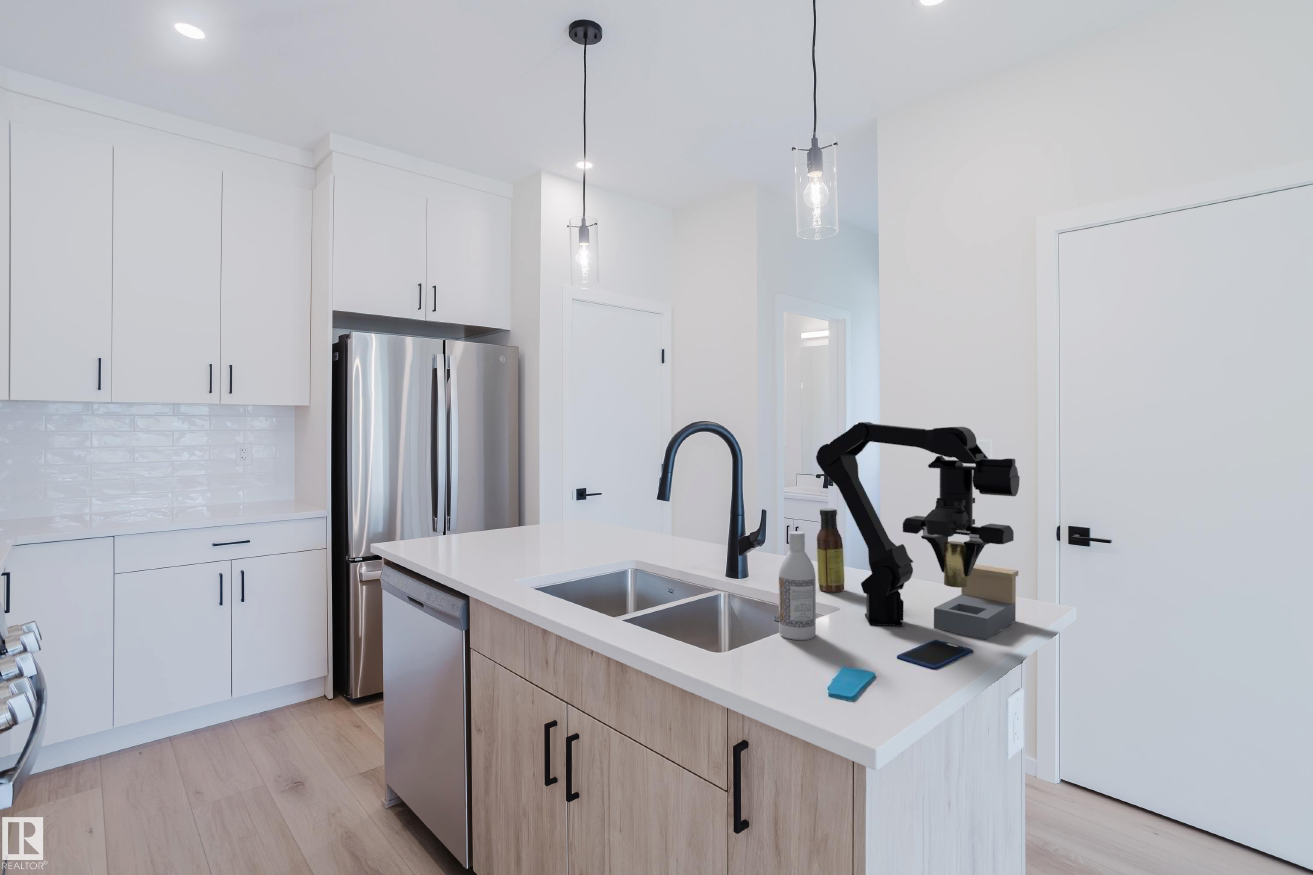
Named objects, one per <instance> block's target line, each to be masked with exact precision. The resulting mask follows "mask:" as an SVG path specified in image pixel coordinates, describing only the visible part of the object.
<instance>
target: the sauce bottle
mask: <svg viewBox="0 0 1313 875" xmlns="http://www.w3.org/2000/svg"><path fill="white" fill-rule="evenodd" d="M819 515H820V528H819V531H818V533H817V535H816V558H817V559H816V560H817V561H816V562H817V583H818V589H819V590H820V591H822V592H826V593H832V594H833V593H840V592H843V591H844V590H845V566H844V565H845V564H844V560H845V559H844V546H843V545H844V544H843V538H842V536H841V534H840V532H839V530H838V524H837V522H838V521H837V516H838V510H837V509H836V508H829V507H828V508H820V509H819Z"/></svg>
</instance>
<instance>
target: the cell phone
mask: <svg viewBox="0 0 1313 875" xmlns="http://www.w3.org/2000/svg"><path fill="white" fill-rule="evenodd" d="M973 653H974V650H973V648H970V647H966V646H963V645H958V644H955V643H952V642H948V641H945V640H944V641H943V640H939V639H933V640H930V641H928V642H926V643H923V644H921V645H918V646H916V647H914V648H913V647H912V648H911V649H909V650H906V651H904V652H902V653H899V654H897V655H896V659H897V660H900V661H902V662H906V663H908V664H913V665H915V666H919V667H923V668H925V669H928V670H933V671H934V670H935V671H936V670H939V669H941V668H944V667H946V666H947V665H950V664H952V663H955V662H956V661H959V660H960V659H962V658H964V657H967V656H968V655H970V654H973Z"/></svg>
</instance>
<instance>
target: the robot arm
mask: <svg viewBox="0 0 1313 875" xmlns="http://www.w3.org/2000/svg"><path fill="white" fill-rule="evenodd" d="M870 443H878V444H879V443H880V444H888V445H896V446H902V447H903V446H904V447H912V448H919V449H922V450H924V451H928V452H930V453H932V454H936V455H937V456H935V458H934V460H932V462H930V463H928V464H927V467H928V469H939V497H936V501H935V507H934V509H932V510H930V512H928V514H926V516H922V515H913V516H908V517H905V519H904V520H903V521H902V533H905V534H907V533H908V534H914V535H915V534H916V535H917V534H919V533H920V532H922V535H920V537H921V539H922V540H925V541H927V543H929V544H930V546H931V547H932V550H933V552H934V554H935V557H936V560H937V562H938V565H939V567H940V570H941V573H943V574H944V542H947V541H949V538H951V537H953V536H954V535H961V536H967V537H968V538H969V539H968V540H965V541H963V542H964V545H965V548H966V557H965V576H966V577H968V576H970V573H971V571H972V569H973V567H974V565H975V564H976V563H977V560H978V558H979V556H980V554H981V552H982V551H983V549H984V548H985V546H986V545H990V544H993V545H1005V544H1008V543H1011V542H1014V539H1015V538H1014V537H1015V536H1014V530H1013V528H1012V526H1011V525H1007V524H997V523H988V524H984V525H981V526H975V525H976V519H975V518H973V508H974V507H973V505H974V504H976V497H973V494H974V492H973V490H978V492H979V494H980V495H985V496H986V495H987V496H988V495H989V496H1002V497H1016V496H1017V495H1018V492H1019V489H1020V478H1021V477H1020V475H1019V471H1018V468H1017V466H1016V459H1015V458H1001V459H999V458H989V457H988V456H987V455H986V454H985V453H984V451H983V449H981V447H980V446H979V444H978V443H977V438H976V434H975V433H974V432H973V431H972V429H970V428H969V427H965V426H949V427H948V426H946V427H945V426H944V427H933V428H921V427H918V428H917V427H908V426H898V425H889V424H880V423H879V424H877V423H873V422H871V421H864V422H863V421H861V422H856V423H855V424H853V425H852V427H850V428H849V429H848V430H847V431H845V432H844V433H842V434H840V435H839V436H837V437H836V438H834V439H833V440H832V441H831V442H829V443H825V444H823V445H821V446H820V447H819V449H817V453H816V455H815V461H816V463H817V465H818V466H819V468H820V469H821V471H822V472H823V474H824V475H825V476H826V477H827V478H828V479H829V481H831V482H832V483H833V484H835V486H836V487H837V489H838V490H839V493H840V494H841V496H842V498H843V500H844V502H845V504H846V506H847V509H848V510H849V512H850V515H851V517H852V518H853V520H854V522H855V525H856V527H857V529H858V531H859V533H860V535H861V537H862V539H863V541H864V542H865V545H866V548H867V551H868V552H867V553H868V557H867V558H868V565H869V569H870V571H871V574H870V575H869V576H867V577H866V579H864V580H863V581H862V582H861V583H860V586H861V589H862V592H863V594H865V595H866V598H865V600H866V602H865V603H866V604H865V605H866V606H865V607H866V609H865V610H866V612H865V613H864V617H865V619H866V621H867V623H868V624H869V625H871V626H874V625H875V626H895V627H896V626H898V627H901V626H902V627H903V624H904V623H903V621H904V600H903V599H902V598H901V595H902V594H901V592H900V591H901V590H903V589H904V586H905V583H907V582H908V581H910V580H911V579H912V576H913V573H914V568H913V563H914V560H913V559H912V558H911V557H910V556H909V554H908V551H907V548H906V546H905V544H904V543H902V544H899V545H897V544H895V543H894V542H893V541H892V540H891V539H890V538H889V536H888V533H887V532H886V529H885V528H884V526H883V523H882V521H881V519H880V518H879V516H878V514H877V511H876V510H875V508H874V506H873V504H872V502H871V500H870V498H869V495H868V493H867V492H866V490H865V488H864V486H863V484H862V482H861V480H860V477H859V464H858V460H857V456H858V455H859V454H860V453H861V452H863V450H864V449H865V448H866V447H867V445H868V444H870ZM945 457H946V458H949V459H946V458H945ZM950 458H951V459H950ZM952 458H955V459H952ZM964 464H967V465H964ZM968 464H969V465H968ZM970 464H971V465H970ZM974 464H975V465H974ZM973 488H974V489H973Z"/></svg>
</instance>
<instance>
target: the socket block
mask: <svg viewBox="0 0 1313 875" xmlns="http://www.w3.org/2000/svg"><path fill="white" fill-rule="evenodd" d="M1016 577H1019V570H1017V569H1011V568H1009V569H1008V568H1003V567H995V566H991V565H990V566H989V565H981V564H976V563H975V565H974V567H973V569H972V571H971V573H970V576H968V577H967V587H963V588H960V589H961V590H960V591H961V592H960V595H957V596H955V597H954V598H951V599H950V600H947V601H945V602H943V603H941V604H939V605H937V606H935V607H933V628H934V629H938V630H942V631H946V632H951V633H956V634H959V635H964V636H968V637H972V638H977V639H981V640H982V639H983V640H987V641H988V640H989V639H991V638H992V637H994V636H996V635H997V634H998V633H1000V632H1001V631H1002V630H1004V629H1005V628H1007V627H1009V626H1010V625H1012V624H1013V623H1015V622H1016V615H1017V614H1016V599H1017V598H1016V591H1017V590H1016V588H1017V587H1016V583H1017V581H1016Z"/></svg>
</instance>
